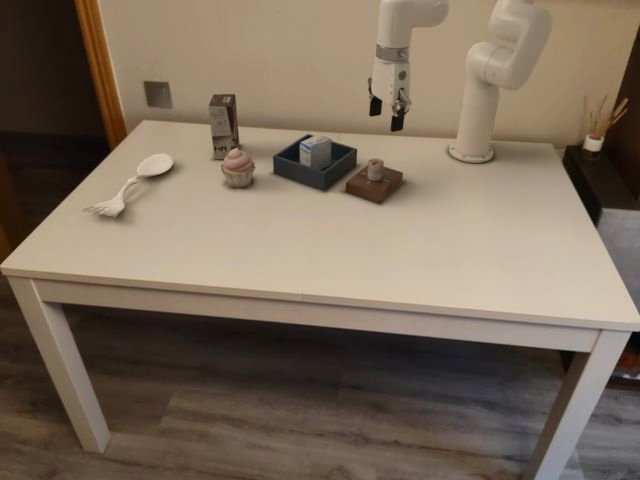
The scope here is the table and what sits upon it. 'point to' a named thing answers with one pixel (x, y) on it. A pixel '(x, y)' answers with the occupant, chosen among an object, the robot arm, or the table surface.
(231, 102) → the coffee box
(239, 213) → the table surface
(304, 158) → the medicine box
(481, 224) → the table surface
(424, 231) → the table surface
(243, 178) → the cupcake
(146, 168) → the spoon
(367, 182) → the panel
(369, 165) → the tap knob
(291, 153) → the open box
